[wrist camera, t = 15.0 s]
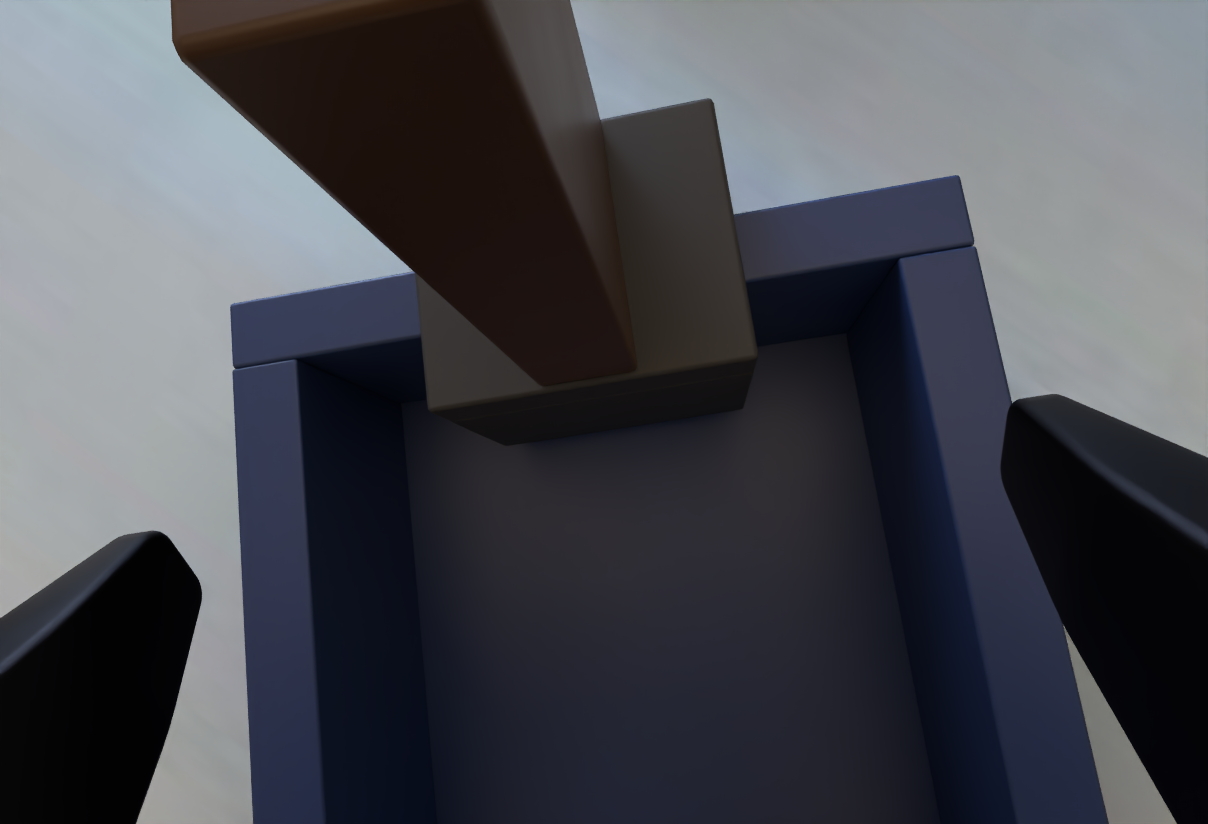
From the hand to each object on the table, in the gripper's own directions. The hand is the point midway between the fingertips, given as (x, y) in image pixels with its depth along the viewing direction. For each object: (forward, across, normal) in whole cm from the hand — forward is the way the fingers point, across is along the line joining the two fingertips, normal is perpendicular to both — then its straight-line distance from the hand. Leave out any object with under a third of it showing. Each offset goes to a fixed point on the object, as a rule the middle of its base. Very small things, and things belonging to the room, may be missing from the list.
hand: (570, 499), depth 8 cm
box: (+5, 0, +8) cm, 9 cm away
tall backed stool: (+8, 0, +2) cm, 8 cm away
